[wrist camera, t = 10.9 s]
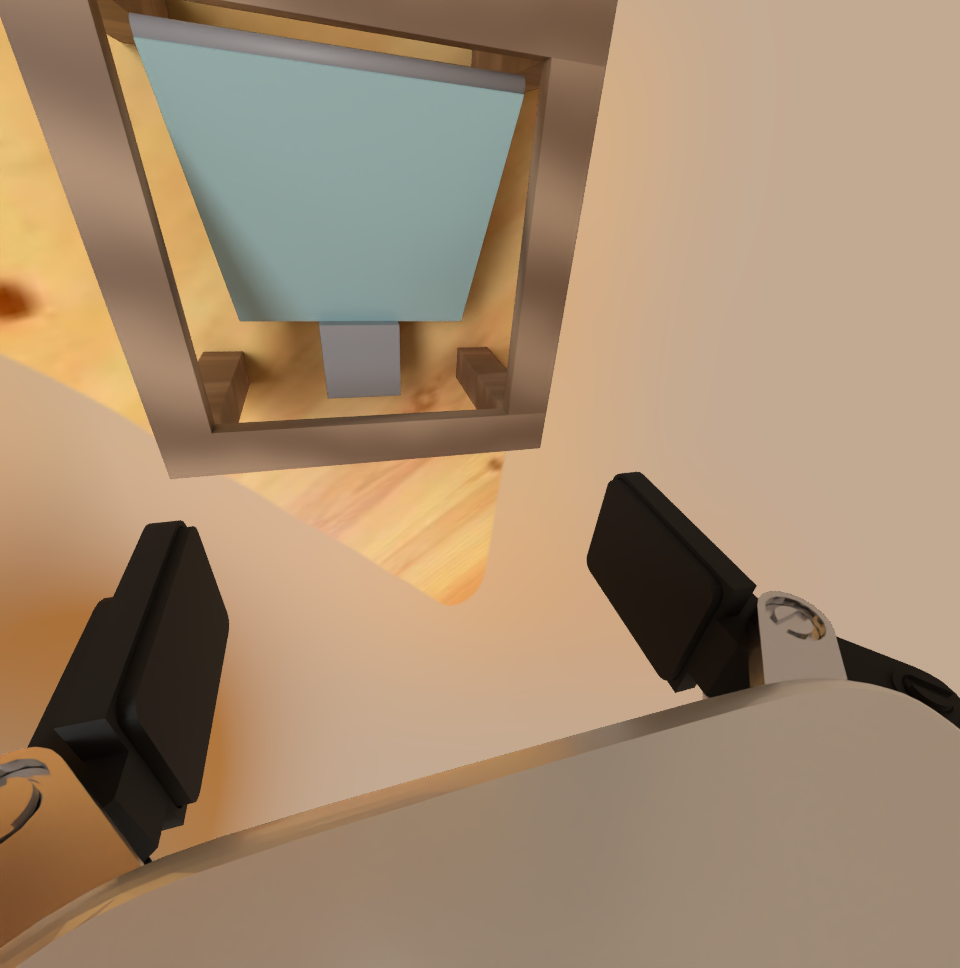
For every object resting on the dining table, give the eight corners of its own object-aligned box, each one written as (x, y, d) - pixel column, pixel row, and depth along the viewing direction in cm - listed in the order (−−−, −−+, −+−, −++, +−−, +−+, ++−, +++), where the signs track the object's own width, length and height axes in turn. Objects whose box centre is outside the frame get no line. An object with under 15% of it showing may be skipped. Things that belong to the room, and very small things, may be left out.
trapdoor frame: (101, -30, 22) (-73, -182, 12) (512, 43, 28) (620, -19, 18) (212, 385, 34) (170, 479, 24) (484, 376, 39) (540, 448, 30)
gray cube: (319, 325, 29) (327, 398, 31) (399, 325, 30) (400, 395, 33) (318, 303, 32) (326, 370, 35) (389, 303, 34) (391, 368, 37)
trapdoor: (129, 4, 15) (127, 23, 15) (521, 69, 19) (527, 84, 19) (239, 308, 28) (239, 321, 28) (458, 309, 32) (461, 321, 32)
